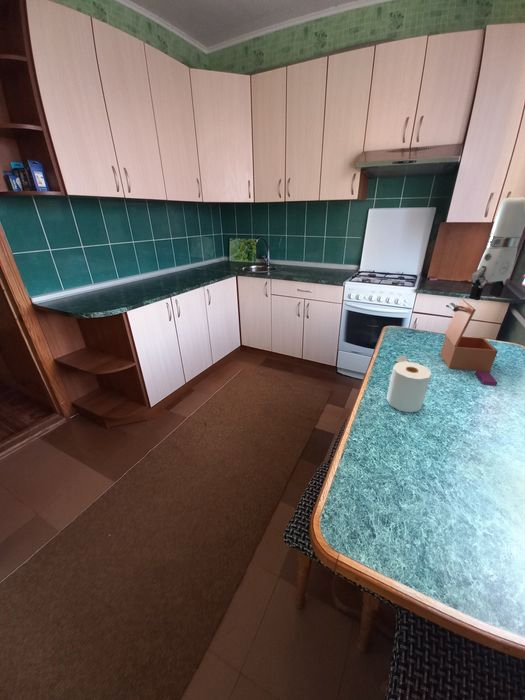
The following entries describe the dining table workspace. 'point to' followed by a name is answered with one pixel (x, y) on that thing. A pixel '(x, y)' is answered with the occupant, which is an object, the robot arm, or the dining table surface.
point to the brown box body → (469, 354)
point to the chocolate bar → (486, 378)
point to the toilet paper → (408, 386)
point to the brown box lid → (459, 321)
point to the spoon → (400, 359)
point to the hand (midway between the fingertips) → (484, 297)
